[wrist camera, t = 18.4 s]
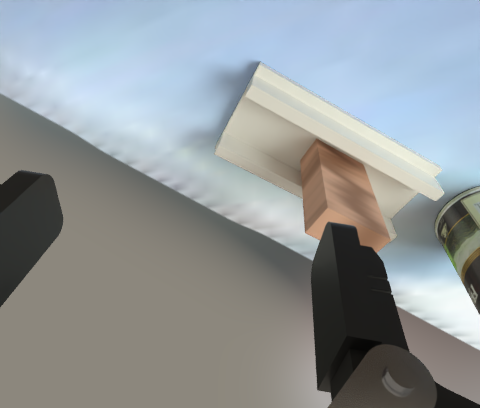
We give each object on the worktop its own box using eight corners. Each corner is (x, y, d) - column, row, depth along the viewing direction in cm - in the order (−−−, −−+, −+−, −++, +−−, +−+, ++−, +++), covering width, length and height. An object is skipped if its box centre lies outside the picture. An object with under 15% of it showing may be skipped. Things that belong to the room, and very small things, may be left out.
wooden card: (300, 160, 37) (305, 233, 28) (316, 138, 36) (327, 207, 26) (345, 184, 39) (365, 262, 29) (363, 164, 37) (390, 240, 27)
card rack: (216, 144, 38) (209, 161, 35) (260, 61, 33) (257, 73, 30) (375, 226, 43) (383, 248, 40) (439, 165, 37) (453, 185, 34)
